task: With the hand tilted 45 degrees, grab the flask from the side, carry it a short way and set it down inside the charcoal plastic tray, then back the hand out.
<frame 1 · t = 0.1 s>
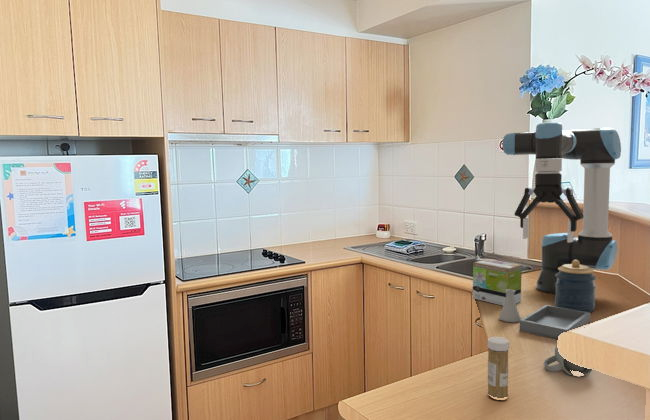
hand: (547, 240, 155), 28 cm above the worktop, tool pointing down, fingers open, 13 cm apart
charcoal tray: (555, 326, 157), on the worktop
flask: (509, 320, 165), on the worktop
ceramic mug: (567, 371, 124), on the worktop
canister: (574, 308, 176), on the worktop
sprinkles bottle: (497, 397, 111), on the worktop
tea box: (496, 301, 188), on the worktop
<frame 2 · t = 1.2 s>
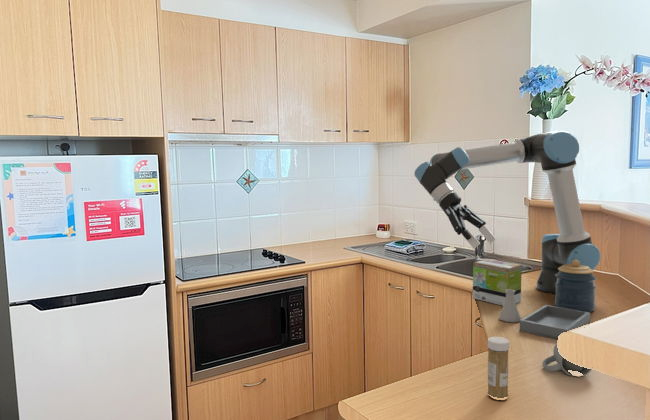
hand: (485, 243, 169), 25 cm above the worktop, tool tilted 45°, fingers open, 13 cm apart
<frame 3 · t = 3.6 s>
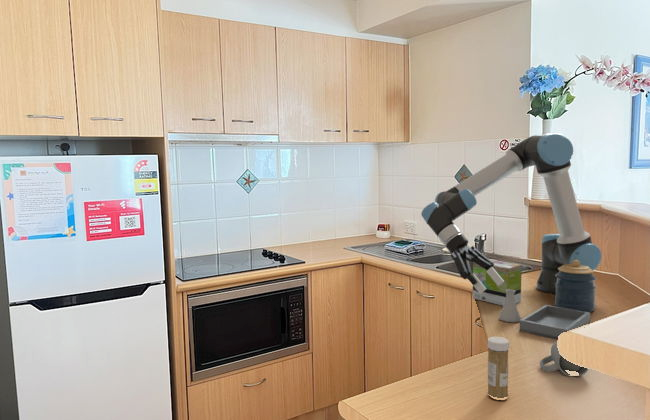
hand: (492, 287, 167), 10 cm above the worktop, tool tilted 45°, fingers open, 13 cm apart
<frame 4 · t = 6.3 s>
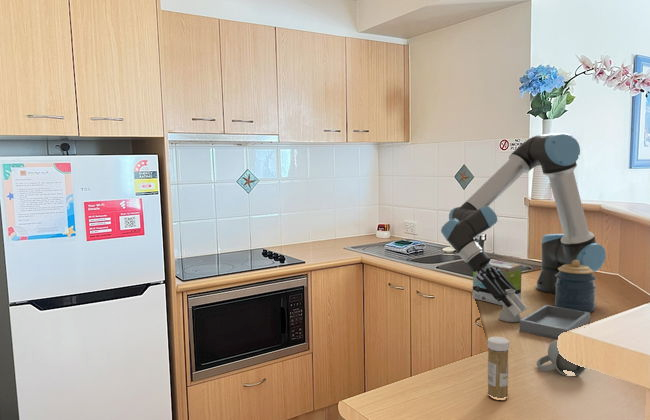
hand: (521, 312, 162), 3 cm above the worktop, tool tilted 45°, fingers closed on flask, 4 cm apart
flask: (509, 320, 165), on the worktop, touching gripper
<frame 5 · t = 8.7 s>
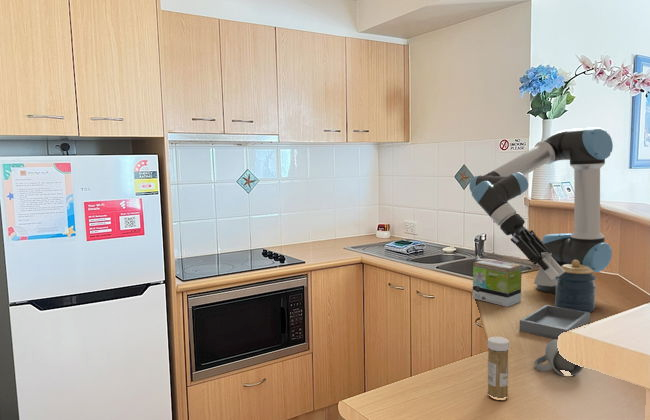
hand: (558, 275, 154), 17 cm above the worktop, tool tilted 45°, fingers closed on flask, 4 cm apart
flask: (545, 284, 157), point 13 cm above the worktop, touching gripper
when the fingers open (6 cm above the worktop, at t = 11.4 s): flask drops 2 cm, resting on charcoal tray.
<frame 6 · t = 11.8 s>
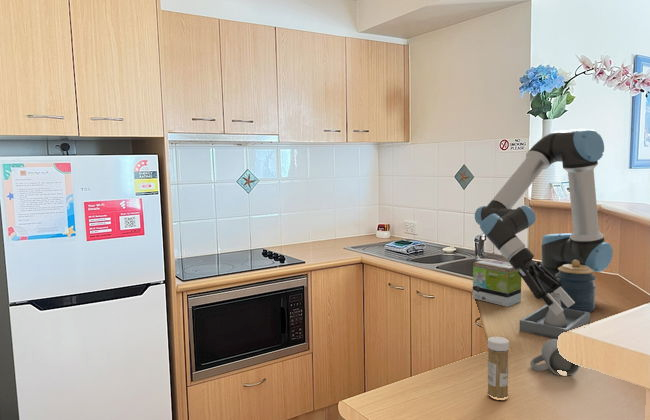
hand: (565, 309, 154), 6 cm above the worktop, tool tilted 45°, fingers open, 10 cm apart
flask: (555, 324, 157), point 1 cm above the worktop, touching charcoal tray
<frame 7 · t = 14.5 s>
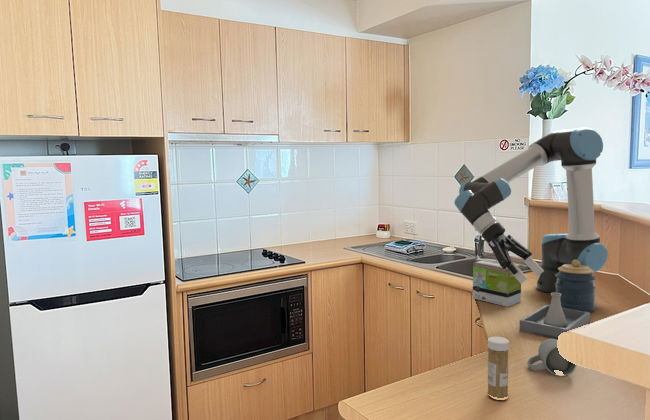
hand: (532, 277, 160), 15 cm above the worktop, tool tilted 45°, fingers open, 13 cm apart
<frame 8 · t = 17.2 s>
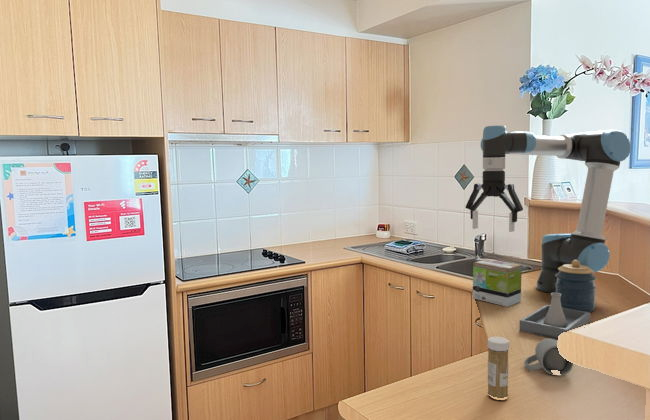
hand: (493, 229, 175), 29 cm above the worktop, tool pointing down, fingers open, 13 cm apart
at the end: flask inside the target area on the charcoal tray (0.2 cm from its centre), point 0.6 cm above the charcoal tray's base; the gripper is holding nothing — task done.
